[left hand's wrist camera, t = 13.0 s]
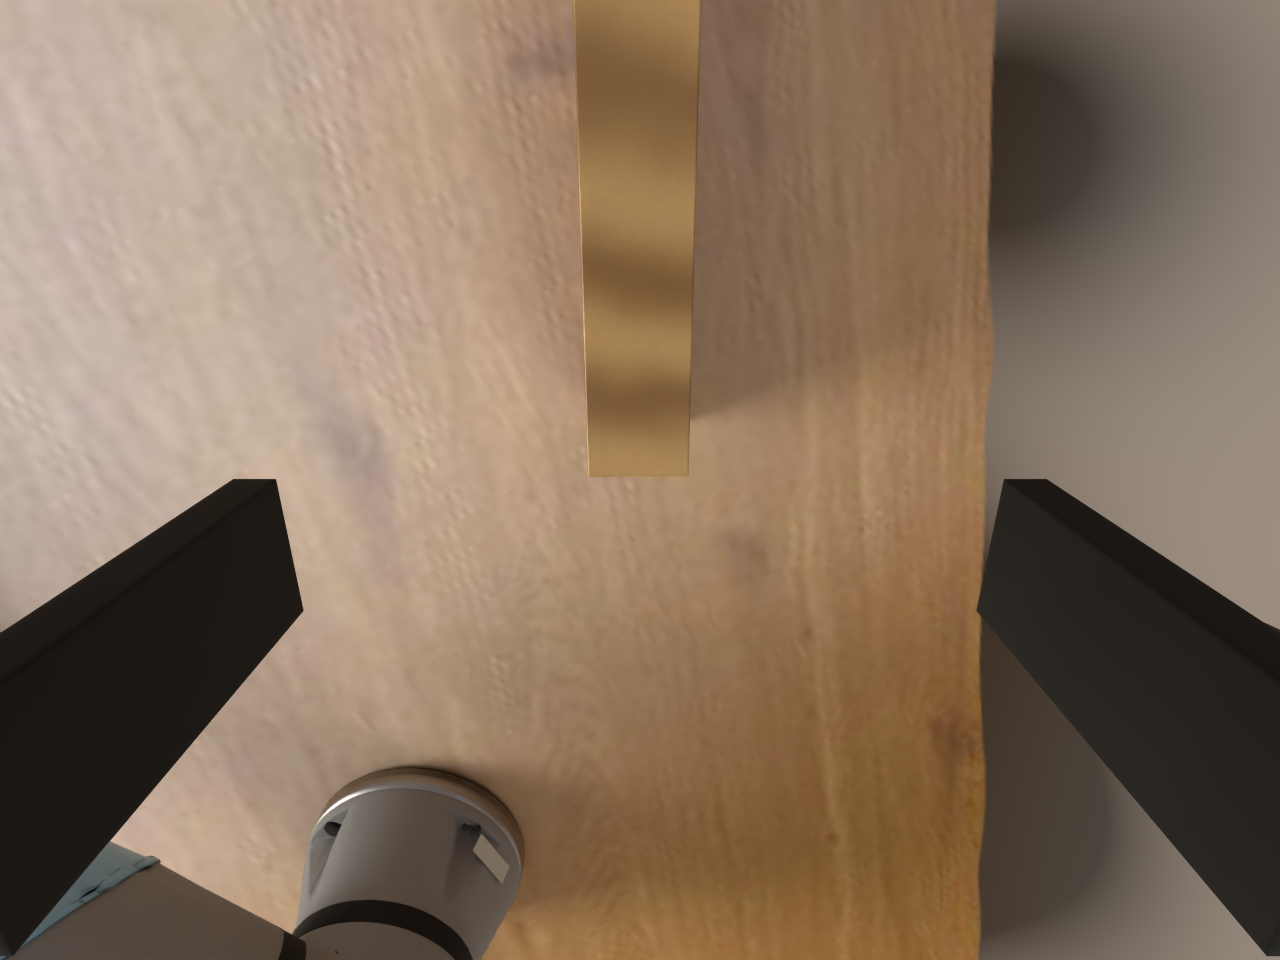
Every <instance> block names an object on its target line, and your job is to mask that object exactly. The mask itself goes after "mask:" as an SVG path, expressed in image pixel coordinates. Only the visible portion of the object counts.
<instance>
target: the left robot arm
mask: <svg viewBox="0 0 1280 960" xmlns="http://www.w3.org/2000/svg"><path fill="white" fill-rule="evenodd" d="M302 612H303V606H302V601H301V596H300V592H299V587H298V582H297V577H296V572H295V568H294V563H293V558H292V553H291V549H290V544H289V539H288V534H287V530H286V525H285V520H284V515H283V511H282V506H281V501H280V496H279V492H278V487H277V482H276V479H233V480H231V481H230V482H228V483H227V484H225V485H224V486H222V487H221V488H219V489H218V490H216V491H215V492H213V493H212V494H210V495H209V496H207V497H206V498H204V499H203V500H201V501H200V502H198V503H197V504H195V505H194V506H192V507H191V508H189V509H187V510H186V511H184V512H183V513H181V514H180V515H178V516H177V517H175V518H174V519H172V520H171V521H169V522H168V523H166V524H165V525H163V526H162V527H160V528H159V529H157V530H156V531H154V532H153V533H151V534H150V535H148V536H147V537H145V538H144V539H142V540H141V541H139V542H138V543H136V544H134V545H133V546H131V547H130V548H128V549H127V550H125V551H124V552H122V553H121V554H119V555H118V556H116V557H115V558H113V559H112V560H110V561H109V562H107V563H106V564H104V565H103V566H101V567H100V568H98V569H97V570H95V571H94V572H92V573H91V574H89V575H88V576H86V577H85V578H83V579H81V580H80V581H78V582H77V583H75V584H74V585H72V586H71V587H69V588H68V589H66V590H65V591H63V592H62V593H60V594H59V595H57V596H56V597H54V598H53V599H51V600H50V601H48V602H47V603H45V604H44V605H42V606H41V607H39V608H38V609H36V610H35V611H33V612H32V613H30V614H29V615H27V616H25V617H24V618H22V619H21V620H19V621H18V622H16V623H15V624H13V625H12V626H10V627H9V628H7V629H6V630H4V631H3V632H1V633H0V960H481V958H482V956H483V955H484V953H485V951H486V949H487V947H488V946H489V944H490V942H491V940H492V938H493V936H494V935H495V933H496V931H497V929H498V927H499V926H500V924H501V922H502V920H503V918H504V917H505V915H506V913H507V911H508V909H509V908H510V906H511V904H512V902H513V900H514V899H515V897H516V894H517V892H518V889H519V885H520V880H521V874H522V868H523V863H524V843H523V838H522V835H521V832H520V829H519V827H518V825H517V823H516V821H515V820H514V818H513V817H512V815H511V814H510V812H509V811H508V810H507V809H506V808H505V807H504V806H503V804H501V803H500V802H499V801H498V800H497V799H496V798H495V797H493V796H492V795H491V794H490V793H488V792H487V791H485V790H484V789H482V788H481V787H479V786H477V785H475V784H473V783H471V782H469V781H467V780H465V779H462V778H460V777H457V776H454V775H451V774H447V773H443V772H439V771H434V770H428V769H417V768H400V769H390V770H384V771H379V772H375V773H372V774H369V775H366V776H363V777H361V778H359V779H357V780H355V781H353V782H351V783H349V784H348V785H346V786H345V787H343V788H342V789H341V790H339V791H338V792H337V793H336V794H335V795H334V796H333V797H332V798H331V799H330V801H329V802H328V803H327V805H326V806H325V808H324V810H323V812H322V814H321V815H320V817H319V819H318V821H317V823H316V825H315V827H314V829H313V831H312V833H311V835H310V838H309V841H308V845H307V852H306V859H305V866H304V873H303V880H302V887H301V894H300V901H299V908H298V915H297V922H296V927H295V929H294V931H293V934H290V933H288V932H286V931H284V930H283V929H282V928H280V927H278V926H276V925H274V924H272V923H270V922H268V921H266V920H264V919H262V918H260V917H258V916H257V915H255V914H253V913H251V912H249V911H247V910H245V909H243V908H241V907H239V906H237V905H235V904H234V903H232V902H230V901H228V900H226V899H224V898H222V897H220V896H218V895H216V894H214V893H212V892H211V891H209V890H207V889H205V888H203V887H201V886H199V885H197V884H195V883H194V882H192V881H190V880H188V879H186V878H185V877H183V876H181V875H179V874H177V873H176V872H174V871H172V870H170V869H168V868H167V867H165V866H163V865H161V864H160V862H161V861H160V859H158V858H156V857H154V856H147V857H145V856H142V855H140V854H138V853H135V852H133V851H131V850H129V849H126V848H124V847H122V846H119V845H117V844H115V843H112V842H110V840H111V839H112V838H113V837H114V836H115V834H116V833H117V832H118V831H119V830H120V828H121V827H122V826H123V825H124V824H125V822H126V821H127V820H128V819H129V818H130V816H131V815H132V814H133V813H134V812H135V811H136V809H137V808H138V807H139V806H140V805H141V803H142V802H143V801H144V800H145V799H146V797H147V796H148V795H149V794H150V793H151V792H152V790H153V789H154V788H155V787H156V786H157V784H158V783H159V782H160V781H161V780H162V778H163V777H164V776H165V775H166V774H167V772H168V771H169V770H170V769H171V768H172V767H173V765H174V764H175V763H176V762H177V761H178V759H179V758H180V757H181V756H182V755H183V753H184V752H185V751H186V750H187V749H188V748H189V746H190V745H191V744H192V743H193V742H194V740H195V739H196V738H197V737H198V736H199V734H200V733H201V732H202V731H203V730H204V728H205V727H206V726H207V725H208V724H209V723H210V721H211V720H212V719H213V718H214V717H215V715H216V714H217V713H218V712H219V711H220V709H221V708H222V707H223V706H224V705H225V704H226V702H227V701H228V700H229V699H230V698H231V696H232V695H233V694H234V693H235V692H236V690H237V689H238V688H239V687H240V686H241V684H242V683H243V682H244V681H245V680H246V679H247V677H248V676H249V675H250V674H251V673H252V671H253V670H254V669H255V668H256V667H257V665H258V664H259V663H260V662H261V661H262V660H263V658H264V657H265V656H266V655H267V654H268V652H269V651H270V650H271V649H272V648H273V646H274V645H275V644H276V643H277V642H278V640H279V639H280V638H281V637H282V636H283V635H284V633H285V632H286V631H287V630H288V629H289V627H290V626H291V625H292V624H293V623H294V621H295V620H296V619H297V618H298V617H299V616H300V614H301V613H302ZM977 612H978V613H979V614H980V616H981V617H982V618H983V619H984V620H985V621H986V623H987V624H988V625H989V626H990V627H991V629H992V630H993V631H994V632H995V633H996V635H997V636H998V637H999V638H1000V639H1001V640H1002V642H1003V643H1004V644H1005V645H1006V646H1007V648H1008V649H1009V650H1010V651H1011V652H1012V654H1013V655H1014V656H1015V657H1016V658H1017V660H1018V661H1019V662H1020V663H1021V664H1022V665H1023V667H1024V668H1025V669H1026V670H1027V671H1028V673H1029V674H1030V675H1031V676H1032V677H1033V678H1034V680H1035V681H1036V682H1037V683H1038V684H1039V686H1040V687H1041V688H1042V689H1043V690H1044V692H1045V693H1046V694H1047V695H1048V696H1049V698H1050V699H1051V700H1052V701H1053V702H1054V704H1055V705H1056V706H1057V707H1058V708H1059V709H1060V711H1061V712H1062V713H1063V714H1064V715H1065V717H1066V718H1067V719H1068V720H1069V721H1070V723H1071V724H1072V725H1073V726H1074V727H1075V728H1076V730H1077V731H1078V732H1079V733H1080V734H1081V736H1082V737H1083V738H1084V739H1085V740H1086V742H1087V743H1088V744H1089V745H1090V746H1091V747H1092V749H1093V750H1094V751H1095V752H1096V753H1097V755H1098V756H1099V757H1100V758H1101V759H1102V761H1103V762H1104V763H1105V764H1106V765H1107V767H1108V768H1109V769H1110V770H1111V771H1112V772H1113V774H1114V775H1115V776H1116V777H1117V778H1118V780H1119V781H1120V782H1121V783H1122V784H1123V786H1124V787H1125V788H1126V789H1127V790H1128V791H1129V793H1130V794H1131V795H1132V796H1133V797H1134V799H1135V800H1136V801H1137V802H1138V803H1139V805H1140V806H1141V807H1142V808H1143V809H1144V811H1145V812H1146V813H1147V814H1148V815H1149V816H1150V818H1151V819H1152V820H1153V821H1154V822H1155V824H1156V825H1157V826H1158V827H1159V828H1160V830H1161V831H1162V832H1163V833H1164V834H1165V835H1166V837H1167V838H1168V839H1169V840H1170V841H1171V843H1172V844H1173V845H1174V846H1175V847H1176V849H1177V850H1178V851H1179V852H1180V853H1181V854H1182V856H1183V857H1184V858H1185V859H1186V860H1187V862H1188V863H1189V864H1190V865H1191V866H1192V868H1193V869H1194V870H1195V871H1196V872H1197V873H1198V875H1199V876H1200V877H1201V878H1202V880H1203V881H1204V882H1205V883H1206V884H1207V885H1208V887H1209V888H1210V889H1211V890H1212V891H1213V893H1214V894H1215V895H1216V896H1217V897H1218V899H1219V900H1220V901H1221V902H1222V903H1223V904H1224V906H1225V907H1226V908H1227V909H1228V910H1229V912H1230V913H1231V914H1232V915H1233V916H1234V918H1235V919H1236V920H1237V921H1238V922H1239V923H1240V925H1241V926H1242V927H1243V928H1244V929H1245V931H1246V932H1247V933H1248V934H1249V935H1250V937H1251V938H1252V939H1253V940H1254V941H1255V943H1256V944H1257V945H1258V946H1259V947H1260V948H1261V950H1262V951H1263V952H1264V953H1265V954H1266V956H1280V630H1279V629H1277V628H1275V627H1273V626H1270V625H1268V624H1266V623H1264V622H1262V621H1261V620H1259V619H1258V618H1256V617H1254V616H1253V615H1251V614H1250V613H1248V612H1247V611H1245V610H1244V609H1242V608H1241V607H1239V606H1238V605H1236V604H1235V603H1233V602H1232V601H1230V600H1229V599H1227V598H1226V597H1224V596H1223V595H1221V594H1220V593H1218V592H1217V591H1215V590H1214V589H1212V588H1210V587H1209V586H1208V585H1206V584H1205V583H1203V582H1202V581H1200V580H1198V579H1197V578H1195V577H1194V576H1192V575H1191V574H1189V573H1188V572H1186V571H1185V570H1183V569H1182V568H1180V567H1179V566H1177V565H1176V564H1174V563H1173V562H1171V561H1170V560H1168V559H1167V558H1165V557H1164V556H1162V555H1161V554H1159V553H1158V552H1156V551H1155V550H1153V549H1152V548H1150V547H1149V546H1147V545H1146V544H1144V543H1142V542H1141V541H1139V540H1138V539H1136V538H1135V537H1133V536H1132V535H1130V534H1129V533H1127V532H1126V531H1124V530H1123V529H1121V528H1120V527H1118V526H1117V525H1115V524H1114V523H1112V522H1111V521H1109V520H1108V519H1106V518H1105V517H1103V516H1102V515H1100V514H1099V513H1097V512H1096V511H1094V510H1093V509H1091V508H1089V507H1088V506H1086V505H1085V504H1083V503H1082V502H1080V501H1079V500H1077V499H1076V498H1074V497H1073V496H1071V495H1070V494H1068V493H1067V492H1065V491H1064V490H1062V489H1061V488H1059V487H1058V486H1056V485H1055V484H1053V483H1052V482H1050V481H1049V480H1047V479H1004V482H1003V487H1002V492H1001V496H1000V501H999V506H998V511H997V516H996V520H995V525H994V530H993V534H992V539H991V544H990V549H989V553H988V558H987V563H986V568H985V572H984V577H983V582H982V587H981V592H980V596H979V601H978V606H977Z"/></svg>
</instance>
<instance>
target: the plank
mask: <svg viewBox="0 0 1280 960" xmlns="http://www.w3.org/2000/svg"><path fill="white" fill-rule="evenodd" d="M573 6H574V38H575V70H576V103H577V135H578V167H579V199H580V232H581V264H582V296H583V328H584V361H585V393H586V425H587V457H588V476H589V477H687V476H688V470H689V432H690V394H691V357H692V319H693V281H694V244H695V206H696V168H697V131H698V93H699V55H700V18H701V0H573Z"/></svg>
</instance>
